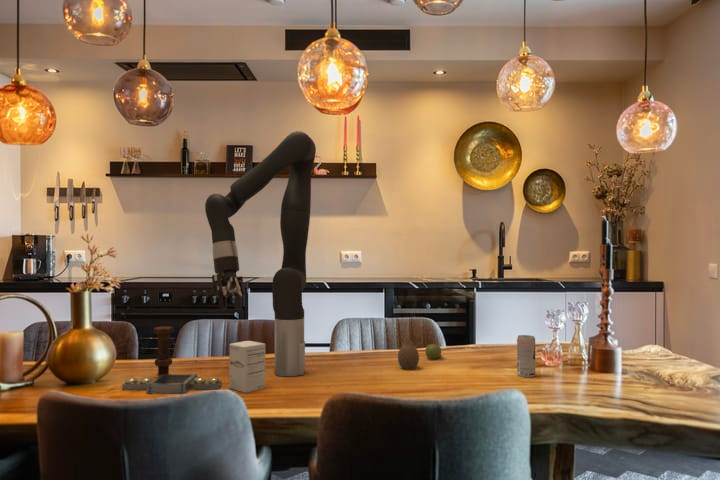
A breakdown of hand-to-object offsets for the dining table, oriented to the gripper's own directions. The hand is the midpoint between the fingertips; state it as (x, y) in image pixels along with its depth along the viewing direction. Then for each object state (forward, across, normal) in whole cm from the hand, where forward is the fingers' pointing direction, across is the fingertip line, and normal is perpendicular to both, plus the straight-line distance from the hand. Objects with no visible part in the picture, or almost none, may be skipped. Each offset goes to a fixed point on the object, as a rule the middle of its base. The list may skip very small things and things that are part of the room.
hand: (231, 309), depth 163 cm
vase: (+27, +29, -45) cm, 60 cm away
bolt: (+17, -4, +23) cm, 29 cm away
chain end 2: (+21, -13, +8) cm, 26 cm away
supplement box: (+24, -8, -7) cm, 26 cm away
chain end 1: (+20, -16, +17) cm, 30 cm away
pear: (+26, +48, -50) cm, 74 cm away
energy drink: (+34, +30, -81) cm, 93 cm away
